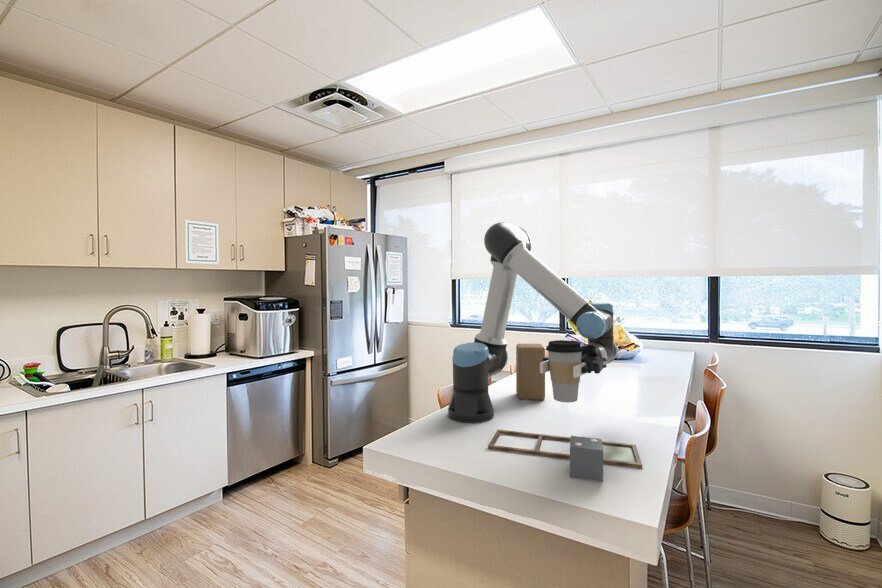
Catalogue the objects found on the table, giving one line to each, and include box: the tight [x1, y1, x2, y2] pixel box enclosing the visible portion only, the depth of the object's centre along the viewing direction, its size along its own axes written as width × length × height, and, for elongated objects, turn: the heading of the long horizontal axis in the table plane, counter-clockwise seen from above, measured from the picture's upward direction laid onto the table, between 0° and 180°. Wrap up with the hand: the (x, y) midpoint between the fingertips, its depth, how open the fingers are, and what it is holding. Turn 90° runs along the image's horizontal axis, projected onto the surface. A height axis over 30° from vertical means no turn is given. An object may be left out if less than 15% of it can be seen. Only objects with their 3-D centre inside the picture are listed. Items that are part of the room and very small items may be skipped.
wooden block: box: [515, 343, 546, 401], centre depth 159 cm, size 10×10×20 cm
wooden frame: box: [487, 429, 643, 469], centre depth 110 cm, size 37×13×1 cm, turn 71°
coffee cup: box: [545, 339, 583, 403], centre depth 108 cm, size 9×9×15 cm
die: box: [569, 435, 604, 483], centre depth 95 cm, size 7×7×7 cm
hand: (557, 370), depth 105 cm, fingers closed on coffee cup, 8 cm apart
